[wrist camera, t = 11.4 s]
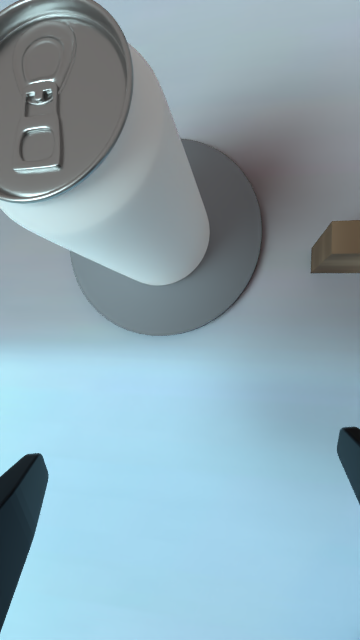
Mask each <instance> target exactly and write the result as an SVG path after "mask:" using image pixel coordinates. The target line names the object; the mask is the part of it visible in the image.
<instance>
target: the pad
mask: <svg viewBox="0 0 360 640" xmlns="http://www.w3.org/2000/svg"><path fill="white" fill-rule="evenodd" d="M181 142H182V145H183V147H184V150H185V153H186V156H187V159H188V162H189V164H190V167H191V170H192V173H193V176H194V178H195V181H196V184H197V187H198V190H199V193H200V196H201V199H202V201H203V204H204V207H205V210H206V213H207V217H208V221H209V228H210V237H209V243H208V247H207V250H206V253H205V255H204V257H203V259H202V260H201V262H200V263H199V265H198V266H197V267H196V268H195V269H194V270H193V271H192V272H191V273H190V274H189V275H188V276H186V277H185V278H183V279H181V280H179V281H177V282H175V283H171V284H168V285H148V284H144V283H141V282H139V281H136V280H134V279H132V278H129V277H127V276H125V275H123V274H120V273H118V272H116V271H114V270H112V269H109V268H107V267H105V266H103V265H101V264H99V263H96V262H94V261H92V260H90V259H88V258H85V257H83V256H81V255H79V254H77V253H75V252H73V251H70V254H71V262H72V266H73V271H74V274H75V277H76V279H77V282H78V284H79V286H80V288H81V290H82V292H83V294H84V295H85V297H86V298H87V300H88V301H89V302H90V304H91V305H92V306H93V307H94V308H95V309H96V310H97V311H98V312H99V313H100V314H101V315H102V316H104V317H105V318H106V319H107V320H109V321H111V322H112V323H114V324H115V325H117V326H119V327H122V328H124V329H126V330H128V331H132V332H135V333H139V334H145V335H152V336H167V335H175V334H181V333H185V332H188V331H192V330H194V329H197V328H199V327H201V326H204V325H206V324H207V323H209V322H211V321H212V320H214V319H216V318H217V317H218V316H220V315H221V314H222V313H223V312H225V311H226V310H227V309H228V308H229V307H230V306H231V305H232V304H233V303H234V302H235V301H236V300H237V298H238V297H239V296H240V295H241V293H242V292H243V291H244V289H245V287H246V286H247V284H248V282H249V280H250V279H251V276H252V274H253V272H254V269H255V267H256V264H257V260H258V256H259V252H260V245H261V238H262V221H261V215H260V208H259V205H258V201H257V198H256V195H255V193H254V191H253V188H252V186H251V184H250V182H249V181H248V179H247V178H246V176H245V175H244V173H243V172H242V171H241V170H240V169H239V167H238V166H237V165H236V164H235V163H234V162H233V161H232V160H230V159H229V158H228V157H227V156H226V155H224V154H223V153H221V152H219V151H218V150H216V149H215V148H213V147H210V146H208V145H206V144H203V143H200V142H196V141H193V140H187V139H181Z"/></svg>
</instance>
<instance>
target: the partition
mask: <svg viewBox="0 0 360 640" xmlns="http://www.w3.org/2000/svg"><path fill="white" fill-rule="evenodd" d="M311 273H360V220H351V221H332V222H331V224H330V225H329V226H328V227H327V229H326V230H325V231H324V233H323V234H322V235H321V237H320V238H319V239H318V241H317V242H316V243H315V245H314V246H313V247H312V254H311Z"/></svg>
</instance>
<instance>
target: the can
mask: <svg viewBox="0 0 360 640" xmlns="http://www.w3.org/2000/svg"><path fill="white" fill-rule="evenodd" d="M0 208H1V209H2V210H3V212H4V213H5V214H6V215H7V216H8V217H10V218H11V219H12V220H13V221H15V222H16V223H18V224H19V225H21V226H22V227H24V228H25V229H27V230H29V231H31V232H33V233H35V234H37V235H39V236H41V237H43V238H45V239H47V240H49V241H51V242H53V243H55V244H58V245H60V246H62V247H64V248H66V249H68V250H70V251H73V252H75V253H77V254H79V255H81V256H83V257H85V258H88V259H90V260H92V261H94V262H96V263H99V264H101V265H103V266H105V267H107V268H109V269H112V270H114V271H116V272H118V273H120V274H123V275H125V276H127V277H129V278H132V279H134V280H136V281H139V282H141V283H144V284H148V285H168V284H171V283H175V282H177V281H179V280H181V279H183V278H185V277H186V276H188V275H189V274H190V273H191V272H192V271H193V270H194V269H195V268H196V267H197V266H198V265H199V263H200V262H201V260H202V259H203V257H204V255H205V253H206V250H207V247H208V243H209V237H210V228H209V221H208V217H207V213H206V210H205V207H204V204H203V201H202V199H201V196H200V193H199V190H198V187H197V184H196V181H195V178H194V176H193V173H192V170H191V167H190V164H189V162H188V159H187V156H186V153H185V150H184V147H183V145H182V142H181V139H180V136H179V134H178V131H177V128H176V125H175V122H174V120H173V117H172V114H171V112H170V109H169V106H168V103H167V101H166V98H165V96H164V93H163V91H162V88H161V86H160V84H159V82H158V80H157V78H156V76H155V74H154V72H153V70H152V69H151V67H150V65H149V64H148V63H147V61H146V60H145V59H144V58H143V57H142V56H141V54H140V53H139V52H138V51H137V50H136V49H135V48H133V47H132V46H131V45H130V44H129V43H128V42H127V40H126V38H125V36H124V34H123V32H122V30H121V28H120V26H119V25H118V23H117V22H116V21H115V19H114V18H113V17H112V16H111V14H110V13H109V12H108V11H107V10H106V9H104V8H103V7H102V6H101V5H99V4H98V3H96V2H95V1H93V0H19V1H17V2H15V3H13V4H11V5H10V6H8V7H6V8H5V9H3V10H2V11H1V12H0Z"/></svg>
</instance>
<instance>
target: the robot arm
mask: <svg viewBox="0 0 360 640" xmlns="http://www.w3.org/2000/svg"><path fill="white" fill-rule="evenodd" d="M337 453H338V456H339V459H340V461H341V463H342V466H343V468H344V470H345V472H346V475H347V477H348V479H349V481H350V484H351V486H352V488H353V490H354V493H355V495H356V497H357V499H358V502H359V504H360V429H359V428H357V427H344V428H342V429H341V430H340V433H339V439H338V445H337ZM47 483H48V471H47V468H46V465H45V462H44V459H43V456H42V455H41V454H40V453H35V454H27V455H25V456H24V457H22V458H21V459H20V460H19V461H18V462H17V463H16V464H14V465H13V466H12V467H11V468H10V469H9V470H8V471H6V472H5V473H4V474H3V475H2V476H1V477H0V632H1V629H2V626H3V623H4V621H5V618H6V615H7V612H8V609H9V606H10V604H11V601H12V598H13V595H14V592H15V589H16V587H17V584H18V581H19V578H20V575H21V572H22V569H23V567H24V564H25V561H26V558H27V555H28V552H29V550H30V547H31V544H32V541H33V538H34V534H35V531H36V527H37V523H38V519H39V515H40V511H41V507H42V503H43V499H44V495H45V491H46V487H47Z"/></svg>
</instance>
